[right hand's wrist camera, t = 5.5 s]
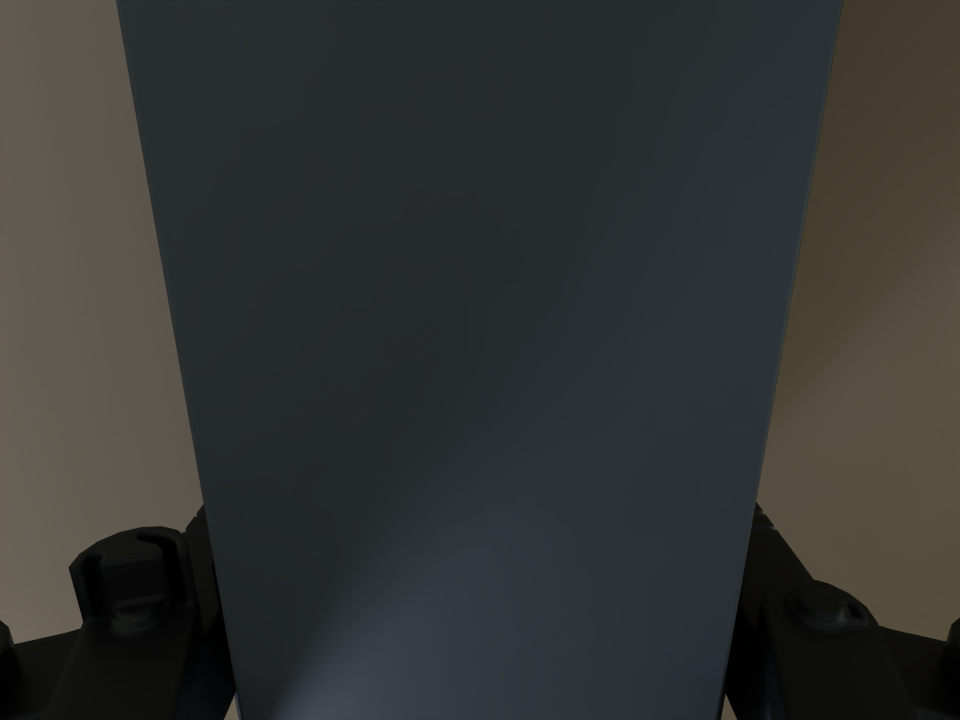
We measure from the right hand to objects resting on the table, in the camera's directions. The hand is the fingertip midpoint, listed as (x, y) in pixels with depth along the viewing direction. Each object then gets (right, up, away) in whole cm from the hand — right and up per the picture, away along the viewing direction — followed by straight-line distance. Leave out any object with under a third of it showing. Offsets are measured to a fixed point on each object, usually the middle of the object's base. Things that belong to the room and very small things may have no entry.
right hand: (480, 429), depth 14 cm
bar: (0, +22, -7) cm, 23 cm away
